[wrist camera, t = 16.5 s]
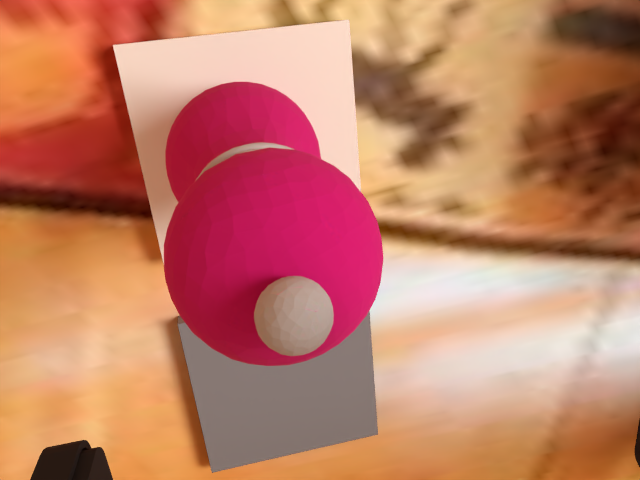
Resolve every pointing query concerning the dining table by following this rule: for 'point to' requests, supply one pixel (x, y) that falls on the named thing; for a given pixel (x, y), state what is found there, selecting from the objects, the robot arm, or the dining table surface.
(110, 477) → the robot arm
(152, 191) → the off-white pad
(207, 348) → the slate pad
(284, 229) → the pepper mill
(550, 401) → the dining table surface
